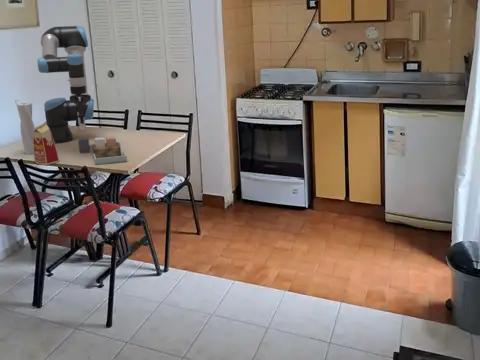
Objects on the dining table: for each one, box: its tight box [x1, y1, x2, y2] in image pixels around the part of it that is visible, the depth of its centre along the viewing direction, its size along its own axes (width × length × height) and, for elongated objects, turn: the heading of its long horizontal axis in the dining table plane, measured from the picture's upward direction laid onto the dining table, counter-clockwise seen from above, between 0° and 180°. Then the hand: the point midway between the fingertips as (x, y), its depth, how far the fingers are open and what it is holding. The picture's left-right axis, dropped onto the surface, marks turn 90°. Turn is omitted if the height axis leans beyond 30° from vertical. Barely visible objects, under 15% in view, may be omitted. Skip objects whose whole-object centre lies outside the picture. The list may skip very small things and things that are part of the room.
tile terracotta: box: [105, 136, 117, 147], centre depth 285 cm, size 4×4×4 cm
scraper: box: [77, 137, 121, 154], centre depth 295 cm, size 21×4×7 cm, turn 108°
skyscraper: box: [14, 99, 35, 155], centre depth 289 cm, size 8×8×28 cm
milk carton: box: [33, 121, 60, 166], centre depth 273 cm, size 9×9×20 cm
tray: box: [92, 150, 128, 166], centre depth 278 cm, size 15×10×3 cm, turn 108°
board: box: [91, 141, 122, 158], centre depth 287 cm, size 13×11×5 cm
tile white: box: [94, 136, 106, 148], centre depth 284 cm, size 4×4×4 cm
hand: (82, 126), depth 289 cm, fingers open, 13 cm apart
